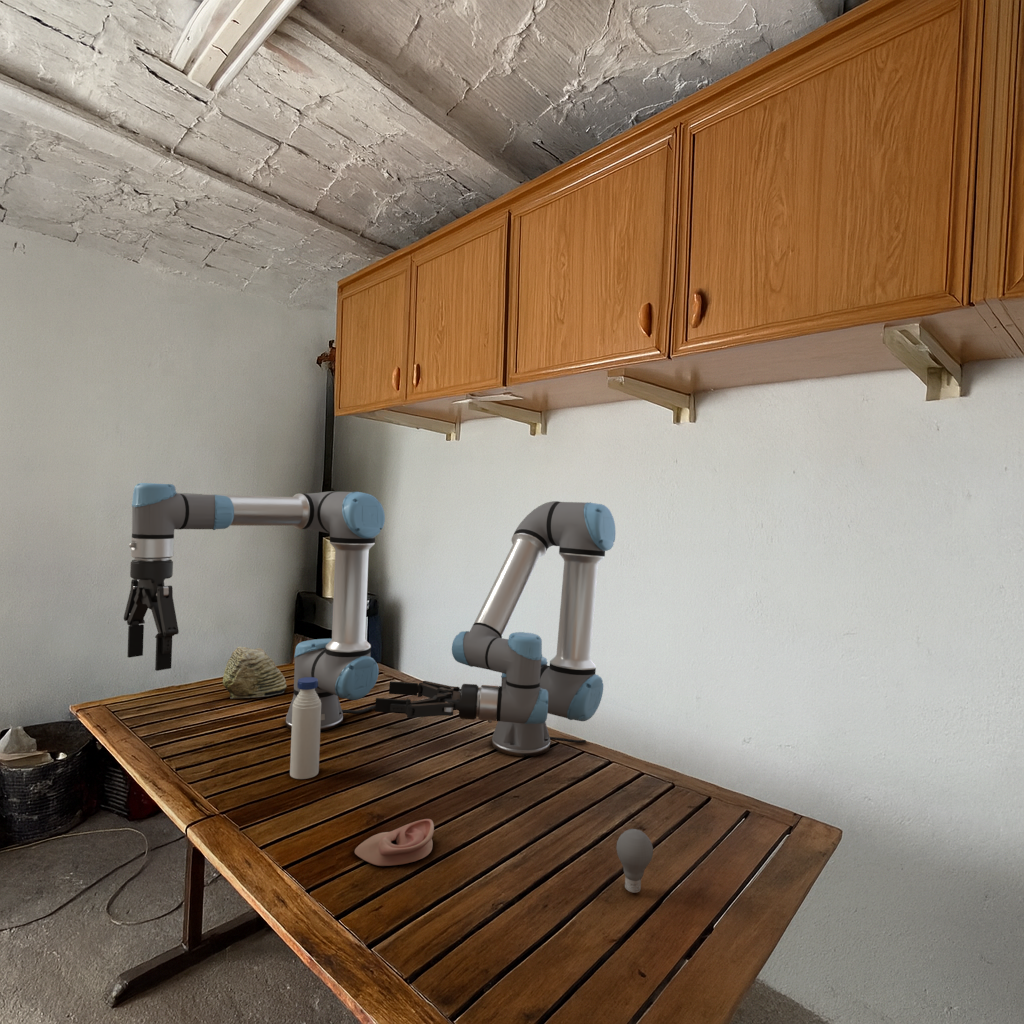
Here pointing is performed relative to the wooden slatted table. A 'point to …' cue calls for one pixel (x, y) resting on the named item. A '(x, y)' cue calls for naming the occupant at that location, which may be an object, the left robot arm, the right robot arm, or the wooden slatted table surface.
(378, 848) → the anatomical model
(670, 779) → the wooden slatted table surface
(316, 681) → the cap
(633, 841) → the light bulb
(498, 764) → the wooden slatted table surface
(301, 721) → the bottle
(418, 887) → the wooden slatted table surface
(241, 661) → the fossil
